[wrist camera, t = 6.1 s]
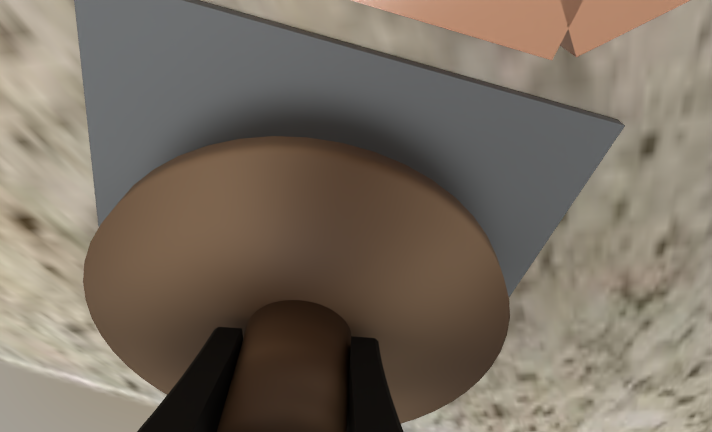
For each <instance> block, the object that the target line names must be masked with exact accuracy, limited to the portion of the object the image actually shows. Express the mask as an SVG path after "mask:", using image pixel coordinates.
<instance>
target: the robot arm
mask: <svg viewBox="0 0 712 432" xmlns="http://www.w3.org/2000/svg"><path fill="white" fill-rule="evenodd" d="M242 342H243V334H242V328H229V327H217V328H216V329H214V331H213V332H212V334H211V335H210V337H209V338H208V340H207V341H206V343H205V344H204V346H203V347H202V349H201V350H200V352H199V353H198V355H197V356H196V357H195V359H194V360H193V362H192V363H191V364H190V366H189V367H188V369H187V370H186V371H185V373H184V374H183V375H182V377H181V378H180V379H179V381H178V382H177V383H176V385H175V386H174V387H173V388H172V390H171V391H170V392H169V394H168V395H167V396H166V397H165V399H164V400H163V401H162V403H161V404H160V405H159V406H158V408H157V409H156V410H155V411H154V412H153V414H152V415H151V416H150V417H149V418H148V419H147V421H146V422H145V423H144V424H143V425H142V427H141V428H140V429H139V430H138V431H137V432H217V429H218V426H219V422H220V419H221V415H222V412H223V408H224V405H225V401H226V398H227V394H228V391H229V387H230V384H231V380H232V377H233V373H234V370H235V366H236V363H237V359H238V356H239V352H240V349H241V345H242ZM347 432H403V429H402V427H401V424H400V421H399V418H398V415H397V412H396V409H395V406H394V403H393V400H392V397H391V394H390V391H389V387H388V383H387V380H386V376H385V372H384V368H383V364H382V360H381V354H380V349H379V341H378V340H376V339H375V338H368V337H354V336H351V344H350V360H349V381H348V414H347Z"/></svg>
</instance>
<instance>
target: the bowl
mask: <svg viewBox="0 0 712 432" xmlns="http://www.w3.org/2000/svg"><path fill="white" fill-rule="evenodd" d="M351 1H355V2H358V3H361V4H365V5H368V6H371V7H375V8H378V9H382V10H385V11H388V12H392V13H395V14H398V15H402V16H405V17H408V18H412V19H415V20H418V21H422V22H425V23H429V24H432V25H435V26H439V27H442V28H445V29H449V30H452V31H455V32H459V33H462V34H465V35H469V36H472V37H476V38H479V39H482V40H486V41H489V42H492V43H496V44H499V45H502V46H506V47H509V48H512V49H516V50H519V51H523V52H526V53H529V54H533V55H536V56H539V57H543V58H546V59H549V60H552V59H553V57H554V55H555V54H556V52H557V50H558V48H559V46H561V47H563V48H564V49H565V50H567V51H568V52H570V53H571V54H573V55H574V56H575V57H578V56H580V55H582V54H584V53H586V52H588V51H590V50H592V49H594V48H596V47H598V46H600V45H602V44H604V43H606V42H608V41H610V40H612V39H614V38H616V37H618V36H620V35H622V34H624V33H626V32H628V31H630V30H632V29H634V28H636V27H638V26H640V25H642V24H644V23H646V22H648V21H650V20H652V19H654V18H656V17H658V16H660V15H662V14H664V13H666V12H668V11H670V10H672V9H674V8H676V7H678V6H680V5H682V4H684V3H686V2H688V1H690V0H351Z"/></svg>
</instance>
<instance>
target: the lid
mask: <svg viewBox="0 0 712 432" xmlns="http://www.w3.org/2000/svg"><path fill="white" fill-rule="evenodd" d="M83 283H84V291H85V298H86V302H87V305H88V308H89V311H90V314H91V317H92V319H93V321H94V323H95V325H96V327H97V328H98V330H99V332H100V334H101V336H102V337H103V338H104V340H105V341H106V342H107V344H108V345H109V346H110V348H111V349H112V350H113V352H114V353H115V354H116V355H117V356H118V357H119V358H120V359H121V360H122V361H123V362H124V363H125V364H126V365H127V366H128V367H129V368H131V369H132V370H133V371H134V372H135V373H137V374H138V375H139V376H140V377H141V378H143V379H144V380H145V381H147V382H148V383H150V384H151V385H153V386H154V387H156V388H157V389H159V390H160V391H162V392H164V393H165V394H167V395H168V394H169V392H170V391H171V390H172V388H173V387H174V386H175V385H176V383H177V382H178V381H179V379H180V378H181V377H182V375H183V374H184V373H185V371H186V370H187V369H188V367H189V366H190V364H191V363H192V362H193V360H194V359H195V357H196V356H197V355H198V353H199V352H200V350H201V349H202V347H203V346H204V344H205V343H206V341H207V340H208V338H209V337H210V335H211V334H212V332H213V331H214V329H216V328H217V327H229V328H242V334H243V342H242V345H241V349H240V352H239V356H238V359H237V363H236V366H235V370H234V373H233V377H232V380H231V384H230V387H229V391H228V394H227V398H226V401H225V405H224V408H223V412H222V415H221V419H220V422H219V426H218V429H217V432H347V414H348V381H349V360H350V344H351V336H354V337H368V338H375V339H376V340H378V341H379V349H380V354H381V360H382V364H383V368H384V372H385V376H386V380H387V383H388V387H389V391H390V394H391V397H392V400H393V403H394V406H395V409H396V412H397V415H398V418H399V421H400V424H401V423H404V422H407V421H410V420H413V419H416V418H419V417H421V416H424V415H426V414H428V413H431V412H433V411H435V410H437V409H439V408H441V407H443V406H445V405H447V404H449V403H450V402H452V401H453V400H455V399H456V398H458V397H459V396H461V395H462V394H464V393H465V392H467V391H468V390H469V389H470V388H471V387H472V386H473V385H475V384H476V383H477V382H478V381H479V380H480V379H481V378H482V377H483V376H484V374H485V373H486V372H487V371H488V370H489V369H490V367H491V366H492V364H493V363H494V361H495V360H496V358H497V356H498V355H499V353H500V351H501V349H502V346H503V343H504V341H505V338H506V336H507V331H508V325H509V319H510V310H509V296H508V292H507V288H506V284H505V280H504V277H503V274H502V271H501V268H500V265H499V262H498V259H497V256H496V254H495V251H494V249H493V247H492V245H491V243H490V241H489V239H488V236H487V235H486V233H485V232H484V230H483V229H482V228H481V226H480V225H479V223H478V222H477V221H476V219H475V218H474V216H473V215H472V214H471V213H470V212H469V211H468V210H467V209H466V208H465V207H464V206H463V205H462V204H461V203H460V202H459V201H458V200H457V199H456V198H455V197H454V196H453V195H451V194H450V193H449V192H448V191H446V190H445V189H444V188H442V187H441V186H440V185H438V184H437V183H436V182H434V181H433V180H432V179H430V178H428V177H426V176H425V175H423V174H421V173H419V172H418V171H416V170H414V169H412V168H411V167H409V166H407V165H405V164H403V163H400V162H398V161H396V160H393V159H391V158H388V157H386V156H383V155H381V154H379V153H376V152H373V151H370V150H366V149H362V148H359V147H355V146H352V145H348V144H344V143H340V142H334V141H327V140H321V139H314V138H308V137H283V136H267V137H256V138H244V139H236V140H231V141H226V142H222V143H217V144H212V145H208V146H205V147H202V148H199V149H196V150H194V151H191V152H188V153H185V154H183V155H180V156H177V157H176V158H174V159H172V160H170V161H168V162H166V163H165V164H163V165H161V166H159V167H157V168H155V169H154V170H152V171H151V172H150V173H148V174H147V175H146V176H145V177H143V178H142V179H141V180H140V181H138V182H137V183H136V184H134V185H133V186H132V188H131V189H130V190H129V191H128V192H127V193H126V194H125V196H124V197H123V198H122V199H121V200H120V201H119V202H118V204H117V205H116V206H115V207H114V209H113V210H112V211H111V212H110V213H109V215H108V216H107V217H106V218H105V220H104V221H103V222H102V223H101V225H100V227H99V229H98V230H97V232H96V234H95V236H94V237H93V239H92V241H91V243H90V246H89V249H88V253H87V256H86V259H85V263H84V277H83Z"/></svg>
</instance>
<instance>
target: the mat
mask: <svg viewBox="0 0 712 432" xmlns="http://www.w3.org/2000/svg"><path fill="white" fill-rule="evenodd" d="M74 2H75V11H76V21H77V30H78V39H79V49H80V58H81V67H82V77H83V86H84V95H85V104H86V114H87V123H88V132H89V142H90V151H91V160H92V170H93V179H94V188H95V197H96V207H97V216H98V225H99V227H100V225H101V223H102V222H103V221H104V220H105V218H106V217H107V216H108V215H109V213H110V212H111V211H112V210H113V209H114V207H115V206H116V205H117V204H118V202H119V201H120V200H121V199H122V198H123V197H124V196H125V194H126V193H127V192H128V191H129V190H130V189H131V188H132V186H133V185H134V184H136V183H137V182H138V181H140V180H141V179H142V178H143V177H145V176H146V175H147V174H148V173H150V172H151V171H152V170H154V169H155V168H157V167H159V166H161V165H163V164H165V163H166V162H168V161H170V160H172V159H174V158H176V157H177V156H180V155H183V154H185V153H188V152H191V151H194V150H196V149H199V148H202V147H205V146H208V145H212V144H217V143H222V142H226V141H231V140H236V139H244V138H256V137H267V136H283V137H308V138H314V139H321V140H327V141H334V142H340V143H344V144H348V145H352V146H355V147H359V148H362V149H366V150H370V151H373V152H376V153H379V154H381V155H383V156H386V157H388V158H391V159H393V160H396V161H398V162H400V163H403V164H405V165H407V166H409V167H411V168H412V169H414V170H416V171H418V172H419V173H421V174H423V175H425V176H426V177H428V178H430V179H432V180H433V181H434V182H436V183H437V184H438V185H440V186H441V187H442V188H444V189H445V190H446V191H448V192H449V193H450V194H451V195H453V196H454V197H455V198H456V199H457V200H458V201H459V202H460V203H461V204H462V205H463V206H464V207H465V208H466V209H467V210H468V211H469V212H470V213H471V214H472V215H473V216H474V218H475V219H476V221H477V222H478V223H479V225H480V226H481V228H482V229H483V230H484V232H485V233H486V235H487V236H488V239H489V241H490V243H491V245H492V247H493V249H494V251H495V254H496V256H497V259H498V262H499V265H500V268H501V271H502V274H503V277H504V280H505V284H506V288H507V292H508V296H509V297H510V295H511V294H512V292H513V291H514V289H515V288H516V286H517V285H518V283H519V282H520V280H521V279H522V277H523V276H524V274H525V273H526V271H527V270H528V269H529V267H530V266H531V264H532V263H533V261H534V260H535V258H536V257H537V255H538V254H539V252H540V251H541V249H542V248H543V246H544V245H545V243H546V242H547V240H548V239H549V237H550V236H551V234H552V233H553V231H554V230H555V229H556V227H557V226H558V224H559V223H560V221H561V220H562V218H563V217H564V215H565V214H566V212H567V211H568V209H569V208H570V206H571V205H572V203H573V202H574V200H575V199H576V197H577V196H578V194H579V193H580V192H581V190H582V189H583V187H584V186H585V184H586V183H587V181H588V180H589V178H590V177H591V175H592V174H593V172H594V171H595V169H596V168H597V166H598V165H599V163H600V162H601V160H602V159H603V157H604V156H605V154H606V153H607V152H608V150H609V149H610V147H611V146H612V144H613V143H614V141H615V140H616V138H617V137H618V135H619V134H620V132H621V131H622V129H623V128H624V126H625V125H623V124H622V123H621V122H620V121H619V120H617V119H613V118H610V117H606V116H603V115H599V114H596V113H592V112H589V111H585V110H582V109H578V108H575V107H571V106H568V105H564V104H561V103H557V102H554V101H550V100H547V99H543V98H540V97H536V96H533V95H529V94H526V93H522V92H519V91H515V90H511V89H508V88H504V87H501V86H497V85H494V84H490V83H487V82H483V81H480V80H476V79H473V78H469V77H466V76H462V75H459V74H455V73H452V72H448V71H445V70H441V69H438V68H434V67H431V66H427V65H424V64H420V63H417V62H413V61H410V60H406V59H403V58H399V57H396V56H392V55H389V54H385V53H382V52H378V51H375V50H371V49H367V48H364V47H360V46H357V45H353V44H350V43H346V42H343V41H339V40H336V39H332V38H329V37H325V36H322V35H318V34H315V33H311V32H308V31H304V30H301V29H297V28H294V27H290V26H287V25H283V24H280V23H276V22H273V21H269V20H266V19H262V18H259V17H255V16H252V15H248V14H245V13H241V12H238V11H234V10H230V9H227V8H223V7H220V6H216V5H213V4H209V3H206V2H202V1H199V0H74Z"/></svg>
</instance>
